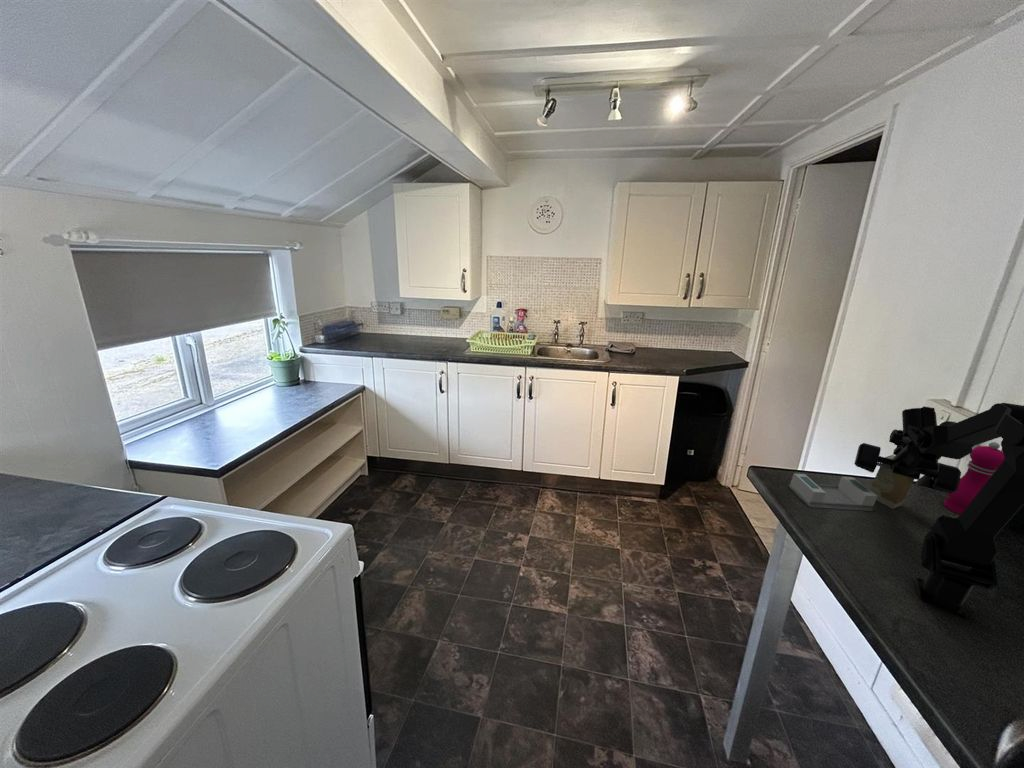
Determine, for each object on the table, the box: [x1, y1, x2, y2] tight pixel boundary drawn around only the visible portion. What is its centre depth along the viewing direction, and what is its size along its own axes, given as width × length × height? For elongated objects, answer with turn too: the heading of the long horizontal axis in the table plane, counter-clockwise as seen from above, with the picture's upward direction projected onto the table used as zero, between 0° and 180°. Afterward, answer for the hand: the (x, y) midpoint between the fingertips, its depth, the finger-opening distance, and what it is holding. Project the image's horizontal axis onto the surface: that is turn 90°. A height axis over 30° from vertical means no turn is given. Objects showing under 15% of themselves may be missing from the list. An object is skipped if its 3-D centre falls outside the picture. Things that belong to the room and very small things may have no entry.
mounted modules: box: [790, 472, 878, 507], centre depth 108 cm, size 16×8×4 cm, turn 88°
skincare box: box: [868, 454, 915, 509], centre depth 108 cm, size 6×4×12 cm
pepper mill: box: [943, 441, 1005, 516], centre depth 104 cm, size 7×7×20 cm
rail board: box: [788, 481, 875, 512], centre depth 109 cm, size 16×9×1 cm, turn 88°
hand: (893, 477), depth 108 cm, fingers open, 9 cm apart
